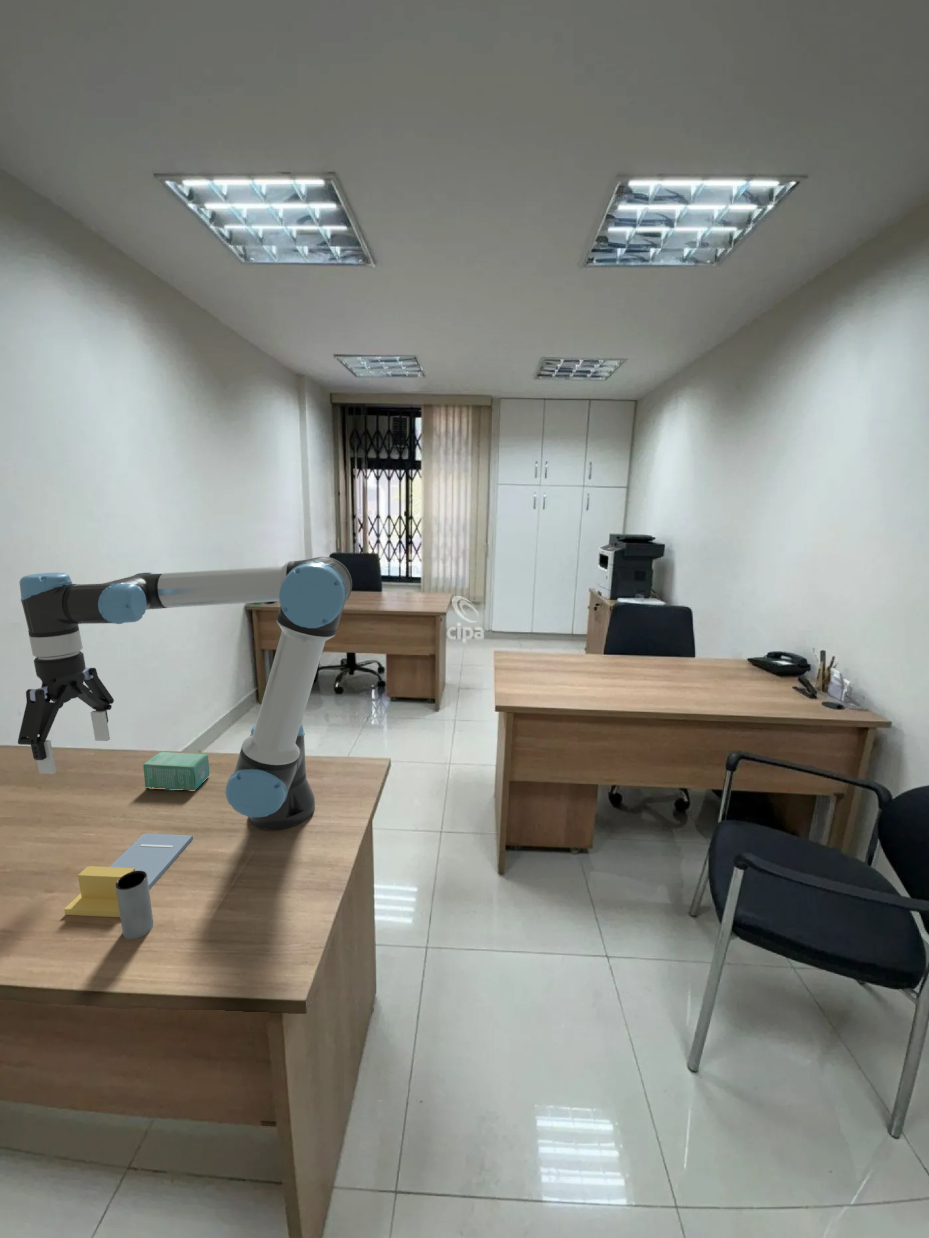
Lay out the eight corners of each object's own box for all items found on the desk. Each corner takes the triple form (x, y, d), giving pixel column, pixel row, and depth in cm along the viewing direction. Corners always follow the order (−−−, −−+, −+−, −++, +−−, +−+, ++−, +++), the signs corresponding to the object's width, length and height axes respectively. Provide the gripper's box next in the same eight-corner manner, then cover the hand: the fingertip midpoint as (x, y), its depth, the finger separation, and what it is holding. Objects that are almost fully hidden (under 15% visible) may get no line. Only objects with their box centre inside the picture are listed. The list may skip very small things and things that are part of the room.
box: (196, 792, 130) (193, 765, 129) (145, 790, 131) (141, 764, 129) (211, 777, 138) (208, 752, 136) (162, 776, 138) (159, 750, 136)
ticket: (193, 840, 112) (192, 834, 112) (146, 894, 96) (145, 888, 96) (144, 838, 112) (143, 832, 112) (90, 891, 97) (89, 885, 96)
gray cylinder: (132, 920, 90) (125, 870, 88) (158, 919, 91) (152, 869, 88) (117, 941, 86) (109, 890, 84) (145, 940, 86) (138, 888, 84)
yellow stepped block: (145, 894, 96) (141, 866, 95) (124, 917, 91) (120, 888, 89) (88, 891, 96) (84, 864, 95) (65, 914, 91) (59, 886, 89)
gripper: (90, 637, 109) (105, 728, 114) (-26, 675, 85) (0, 788, 89) (123, 637, 109) (137, 728, 113) (17, 676, 84) (40, 790, 89)
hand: (77, 755), depth 101 cm, fingers open, 13 cm apart
